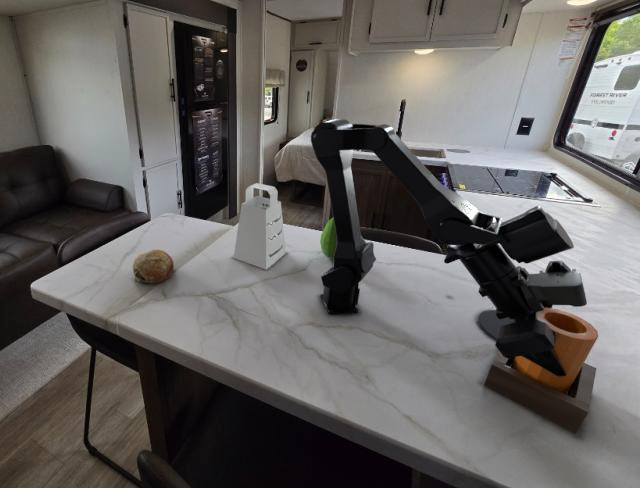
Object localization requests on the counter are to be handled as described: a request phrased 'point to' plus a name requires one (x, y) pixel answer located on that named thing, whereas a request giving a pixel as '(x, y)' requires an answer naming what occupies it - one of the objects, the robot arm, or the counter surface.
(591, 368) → the open rectangular box
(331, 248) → the avocado
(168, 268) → the bread roll
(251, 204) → the grater
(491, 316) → the coaster
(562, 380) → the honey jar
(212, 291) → the counter surface
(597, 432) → the counter surface
